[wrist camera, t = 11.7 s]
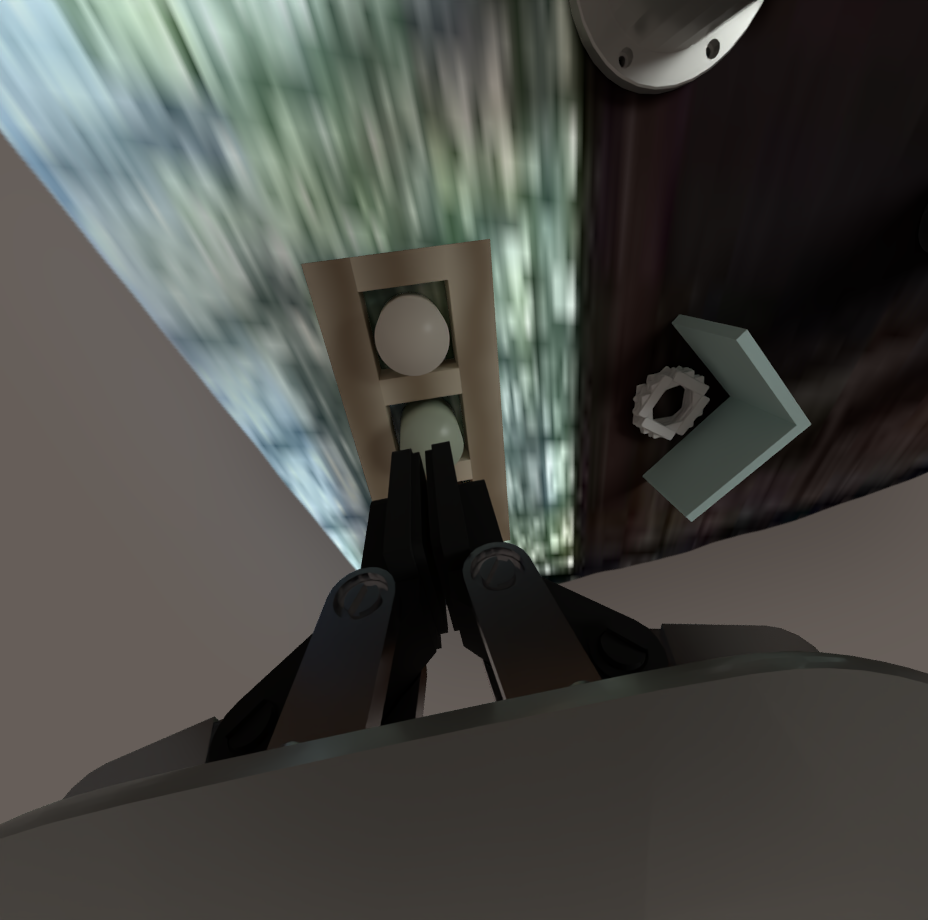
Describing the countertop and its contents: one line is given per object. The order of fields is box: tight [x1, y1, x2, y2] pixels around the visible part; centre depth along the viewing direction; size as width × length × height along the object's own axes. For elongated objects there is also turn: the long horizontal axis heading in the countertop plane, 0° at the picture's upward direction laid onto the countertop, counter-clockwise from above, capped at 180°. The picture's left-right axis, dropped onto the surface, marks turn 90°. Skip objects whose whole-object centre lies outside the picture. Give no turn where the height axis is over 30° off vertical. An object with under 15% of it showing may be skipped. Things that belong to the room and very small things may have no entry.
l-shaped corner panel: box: [632, 315, 811, 522], centre depth 32 cm, size 12×12×8 cm
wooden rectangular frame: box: [301, 239, 510, 541], centre depth 31 cm, size 12×26×3 cm, turn 7°
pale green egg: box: [400, 397, 464, 474], centre depth 30 cm, size 5×5×5 cm
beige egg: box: [375, 292, 450, 376], centre depth 26 cm, size 5×5×5 cm
